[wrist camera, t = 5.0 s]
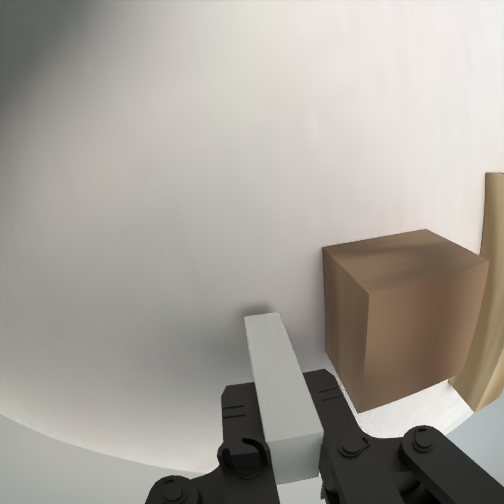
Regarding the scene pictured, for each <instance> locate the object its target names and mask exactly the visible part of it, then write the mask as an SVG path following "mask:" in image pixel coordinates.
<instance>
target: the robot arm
mask: <svg viewBox="0 0 504 504" xmlns="http://www.w3.org/2000/svg"><path fill="white" fill-rule="evenodd" d="M244 320H245V328H246V335H247V343H248V350H249V357H250V364H251V370H252V376H253V382H252V383H245V384H237V385H229V386H226V388H225V390H224V392H223V394H222V396H221V404H222V425H223V443H222V445H221V446H220V447H219V448H218V453H217V458H218V461H219V464H220V465H219V466H218V467H217V468H216V469H215V470H213V471H212V472H210V473H208V474H206V475H203V476H200V477H197V478H194V479H188V478H185V477H183V476H173V475H171V476H167V477H164V478H161V479H160V480H158V481H157V482H155V484H154V485H153V487H152V488H151V490H150V492H149V495H148V498H147V500H146V502H145V504H280V501H279V496H278V491H277V486H276V485H278V484H284V483H290V482H295V481H300V480H305V479H310V478H314V477H318V476H319V471H320V475H321V478H322V481H323V483H322V489H321V499H324V498H325V501H326V504H504V487H503V486H502V485H501V484H500V483H498V482H497V481H496V480H495V479H494V478H493V477H491V476H490V475H489V474H488V473H487V472H486V471H485V470H483V469H482V468H481V467H480V466H479V465H478V464H476V463H475V462H474V461H473V460H472V459H471V458H469V457H468V456H467V455H466V454H465V453H464V452H462V450H460V449H459V448H458V447H457V446H456V445H455V444H454V443H452V442H451V441H450V440H449V439H448V438H447V437H445V436H444V435H443V434H442V433H441V432H440V431H439V430H437V429H435V428H434V427H431V426H426V425H422V426H416V427H414V428H411V429H409V430H408V431H407V432H406V433H405V434H404V437H399V438H375V437H371V436H369V435H368V434H366V433H365V432H363V431H362V430H361V428H360V427H359V426H358V423H357V421H356V419H355V417H354V415H353V413H352V411H351V409H350V407H349V405H348V403H347V401H346V399H345V397H344V396H343V393H342V391H341V389H340V388H339V385H338V383H337V381H336V379H335V377H334V376H333V375H332V374H331V373H329V372H328V371H327V370H325V369H321V370H316V371H311V372H306V373H302V371H301V369H300V366H299V363H298V361H297V358H296V355H295V353H294V350H293V347H292V345H291V342H290V340H289V337H288V334H287V332H286V329H285V326H284V324H283V321H282V318H281V316H280V313H279V312H273V313H266V314H260V315H253V316H245V317H244Z"/></svg>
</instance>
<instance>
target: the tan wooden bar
mask: <svg viewBox="0 0 504 504" xmlns="http://www.w3.org/2000/svg"><path fill="white" fill-rule="evenodd" d="M480 256H481V257H483V258H484V259H486V260H488V261H489V266H488V272H487V278H486V284H485V289H484V294H483V299H482V303H481V308H480V312H479V316H478V320H477V324H476V328H475V332H474V335H473V339H472V342H471V346H470V349H469V352H468V355H467V358H466V361H465V364H464V367H463V370H462V372H461V373H459V374H457V375H455V376H453V377H450V379H449V383H450V384H451V385H452V387H453V388H454V389H455V390H456V391H457V392H458V394H459V395H460V396H461V397H462V398H463V399H464V401H465V402H466V403H467V404H468V405H469V407H470V408H471V409H472V410H473V411H474V413H475V412H477V411H478V410H480V409H482V408H483V407H485V406H486V405H488V404H490V403H491V402H493V401H494V400H496V399H497V398H499V397H500V395H501V393H502V391H503V389H504V173H486V195H485V213H484V226H483V236H482V244H481V252H480Z"/></svg>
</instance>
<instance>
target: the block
mask: <svg viewBox="0 0 504 504" xmlns="http://www.w3.org/2000/svg"><path fill="white" fill-rule="evenodd" d="M322 254H323V273H324V297H325V349H326V353H327V354H328V356H329V358H330V360H331V362H332V364H333V366H334V368H335V370H336V372H337V374H338V376H339V378H340V380H341V382H342V384H343V386H344V388H345V390H346V392H347V393H348V395H349V397H350V399H351V401H352V403H353V405H354V407H355V409H356V411H357V413H361V412H365V411H368V410H371V409H374V408H377V407H380V406H382V405H385V404H388V403H391V402H393V401H396V400H399V399H401V398H404V397H407V396H409V395H412V394H414V393H417V392H419V391H421V390H424V389H426V388H428V387H431V386H433V385H435V384H437V383H440V382H442V381H444V380H446V379H448V378H450V377H453V376H455V375H457V374H459V373H461V372H462V370H463V367H464V364H465V361H466V358H467V355H468V352H469V349H470V346H471V342H472V339H473V335H474V332H475V328H476V324H477V320H478V316H479V312H480V308H481V303H482V299H483V294H484V289H485V284H486V278H487V272H488V266H489V261H488V260H486V259H484V258H483V257H481V256H479V255H477V254H475V253H473V252H471V251H469V250H467V249H465V248H463V247H461V246H460V245H458V244H456V243H454V242H452V241H450V240H447V239H445V238H443V237H441V236H439V235H437V234H435V233H433V232H431V231H429V230H427V229H423V230H417V231H412V232H406V233H400V234H395V235H389V236H383V237H378V238H372V239H366V240H360V241H355V242H349V243H343V244H337V245H332V246H326V247H322Z"/></svg>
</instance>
